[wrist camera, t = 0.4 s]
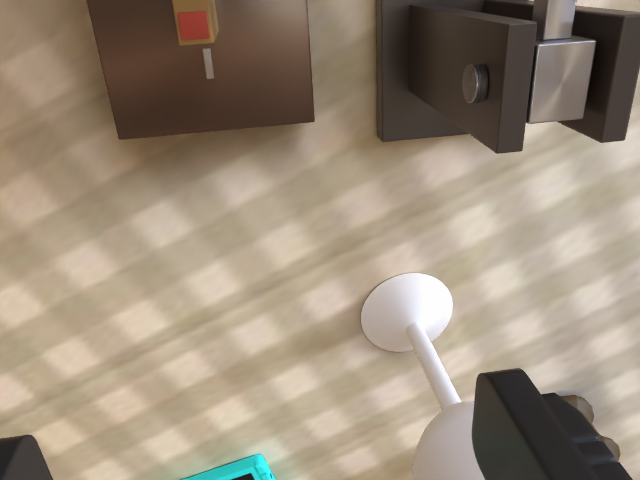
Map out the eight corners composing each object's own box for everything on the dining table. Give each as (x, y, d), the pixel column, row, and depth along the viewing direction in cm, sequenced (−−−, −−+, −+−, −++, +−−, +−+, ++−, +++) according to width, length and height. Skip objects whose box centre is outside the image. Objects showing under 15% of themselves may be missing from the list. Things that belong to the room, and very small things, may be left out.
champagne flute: (448, 262, 37) (736, 667, 15) (456, 339, 40) (706, 765, 18) (352, 286, 36) (509, 728, 15) (368, 361, 40) (516, 816, 18)
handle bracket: (375, -55, 27) (470, -73, 16) (525, -64, 28) (716, -88, 17) (377, 136, 32) (452, 228, 21) (506, 124, 33) (647, 206, 21)
